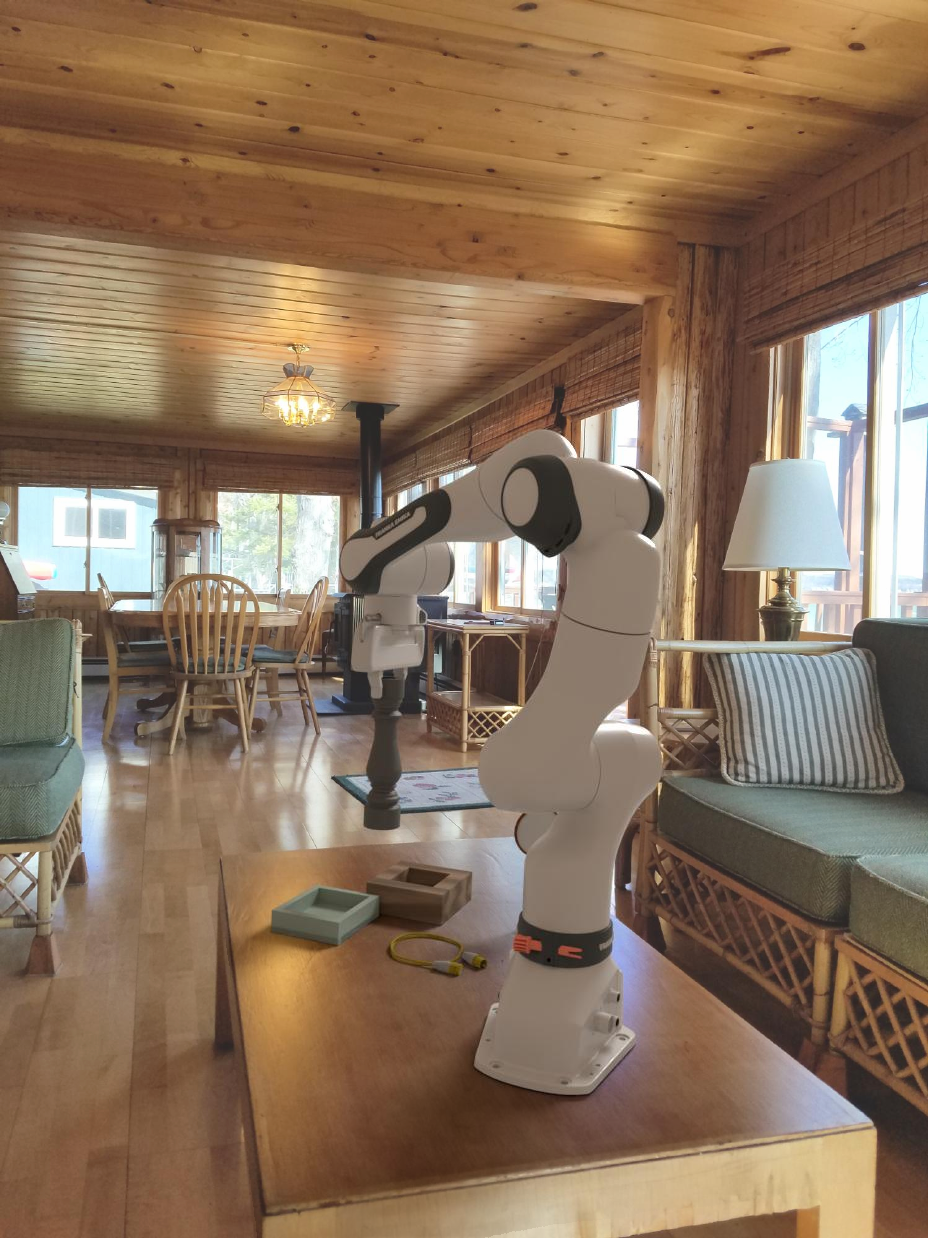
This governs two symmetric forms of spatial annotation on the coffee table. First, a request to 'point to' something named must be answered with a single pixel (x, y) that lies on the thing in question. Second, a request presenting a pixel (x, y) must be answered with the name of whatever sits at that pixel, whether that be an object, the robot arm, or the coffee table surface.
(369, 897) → the parts tray
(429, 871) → the socket block
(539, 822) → the magnifying glass
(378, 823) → the candle holder
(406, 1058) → the coffee table surface
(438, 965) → the extension cord
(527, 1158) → the coffee table surface
